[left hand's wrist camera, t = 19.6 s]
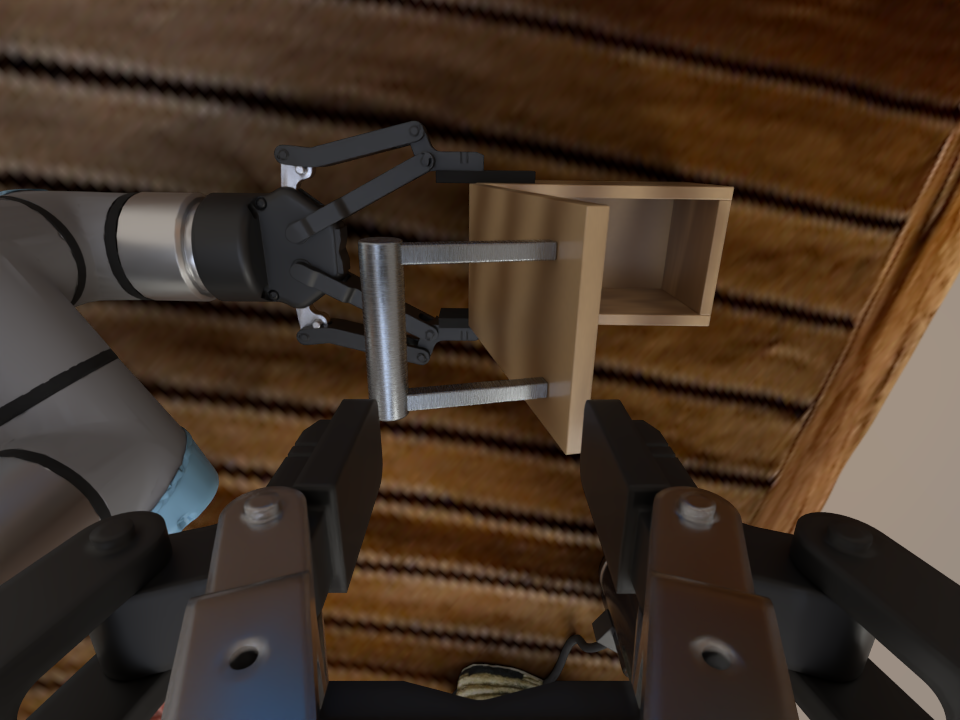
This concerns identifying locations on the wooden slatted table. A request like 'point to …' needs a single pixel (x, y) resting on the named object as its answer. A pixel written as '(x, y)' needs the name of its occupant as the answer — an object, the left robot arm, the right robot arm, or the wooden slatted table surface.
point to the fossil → (493, 681)
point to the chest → (654, 246)
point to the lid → (500, 307)
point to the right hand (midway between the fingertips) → (529, 251)
